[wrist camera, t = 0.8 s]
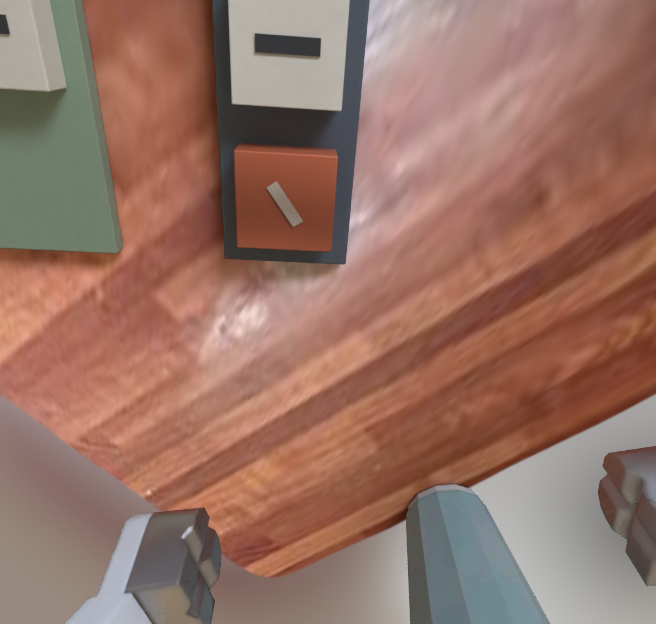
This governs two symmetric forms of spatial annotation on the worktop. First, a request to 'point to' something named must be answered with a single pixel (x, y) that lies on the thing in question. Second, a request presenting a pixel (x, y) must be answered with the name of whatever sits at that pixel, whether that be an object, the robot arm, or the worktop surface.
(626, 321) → the worktop surface
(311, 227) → the brown flat square block
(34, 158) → the green word strip
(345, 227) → the strip
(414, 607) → the disposable coffee cup
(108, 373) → the worktop surface
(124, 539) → the robot arm
